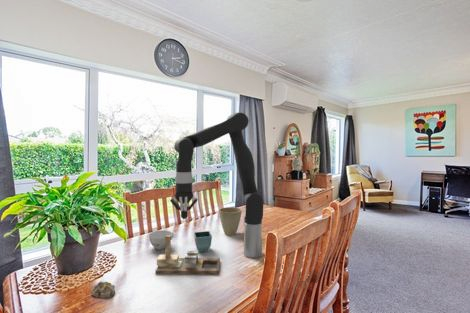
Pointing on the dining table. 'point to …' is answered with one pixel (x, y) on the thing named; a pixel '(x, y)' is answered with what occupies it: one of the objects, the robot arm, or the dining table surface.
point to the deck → (192, 265)
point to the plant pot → (230, 219)
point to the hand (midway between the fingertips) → (184, 218)
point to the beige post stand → (167, 255)
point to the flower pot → (203, 240)
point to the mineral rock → (103, 290)
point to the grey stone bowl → (159, 238)
